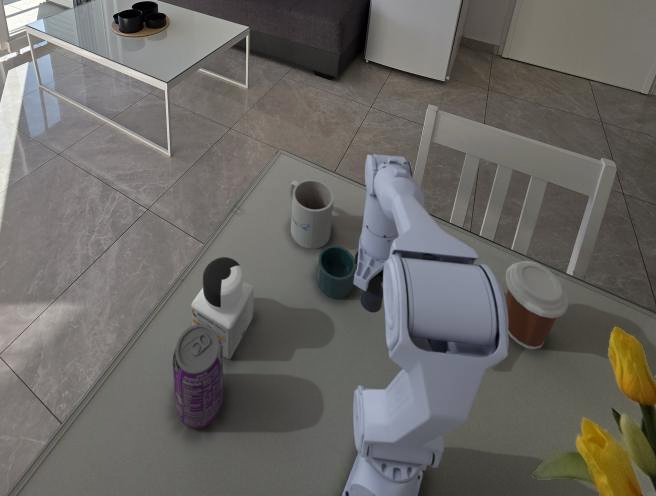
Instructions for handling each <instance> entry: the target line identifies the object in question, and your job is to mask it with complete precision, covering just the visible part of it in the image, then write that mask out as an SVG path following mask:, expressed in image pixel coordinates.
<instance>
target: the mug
mask: <svg viewBox="0 0 656 496" xmlns="http://www.w3.org/2000/svg"><path fill="white" fill-rule="evenodd" d="M289 199H290V203H291V218H290V234H291V237H292V238H293V240H294V241H295V243H297V244H298V245H299V246H301V247H303V248H305V249H310V250H312V249H313V250H315V249H320V248H322V247H324V246H325V245H327V243H329V240H330V237H331V231H332V221H333V220H332V219H333V209H334V199H335V197H334V192H333V190H332V189H331V187H330V186H329V185H328V184H327V183H325V182H323V181H320V180H317V179H305V180H302V181H299V180H293V181H292V182H291V183H290V185H289Z"/></svg>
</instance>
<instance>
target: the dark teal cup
mask: <svg viewBox="0 0 656 496" xmlns="http://www.w3.org/2000/svg"><path fill="white" fill-rule="evenodd" d="M356 267H357V265H356V263H355V256H354V255H353V254H352V253H351V252H350V250H348V249H347V248H345V247H343V246H340V245H328V246H326V247H324V248H323V249H322V250H321V251H320V253H319V254H318V261H317V271H316V282H317V286H318V288H319V289H320V291H321V292H322V293H323V294H324V295H325V296H326V297H328V298H330V299H334V300H342V299H345V298H347V297H348V296H349V295H350V294H351V293H352V292H353V289H354V286H355V285H354V284H353V283H354V275H355V273H356V270H357V268H356Z"/></svg>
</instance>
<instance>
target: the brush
mask: <svg viewBox="0 0 656 496" xmlns="http://www.w3.org/2000/svg"><path fill="white" fill-rule="evenodd" d="M359 296H360V297H359V301H360V304H361V305H360V306H361V307H362V308H363V309H364V310H365V311H367V312H368V313H372V314H373V313H375V314H376V313H378V312H380V311H381V309H382V305H383V301H384V297H383V285H382V284H381V285H380V288H379V290H378V292H377V294H376V295H375V294H373V293H371V292H370V291H368V290H366V291H364V290H362V289H360V295H359Z"/></svg>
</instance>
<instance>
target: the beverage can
mask: <svg viewBox="0 0 656 496" xmlns="http://www.w3.org/2000/svg"><path fill="white" fill-rule="evenodd" d="M172 373H173V389H174V390H173V391H174V392H173V393H174V406H175V412H176V413H175V414H176V415H177V418H178V420H179V421H180V422H181V423H182V424H183V425H184V426H185V427H187V428H190V429H194V430H195V429H202V428H204V427H207V426H208V425H210V424H211V423H212V422H213V421H214V420H215V419H216V418H217V416H218V414H219V413H220V411H221V410H222V409H221V408H222V406H223V401H224V356H223V351H222V346H221V343H220V341H219V339H218V336H217V334H216V332H215V331H214V330H213V329H212V328H211V327H209V326H207V325H204V324H197V325H193V326H192V325H191V326H189V327H188V328H186V329H185V330H184V331H183V332H182V333H181V334H180V336H179V337H178V339H177V341H176V345H175V348H174V351H173V355H172Z"/></svg>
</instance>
